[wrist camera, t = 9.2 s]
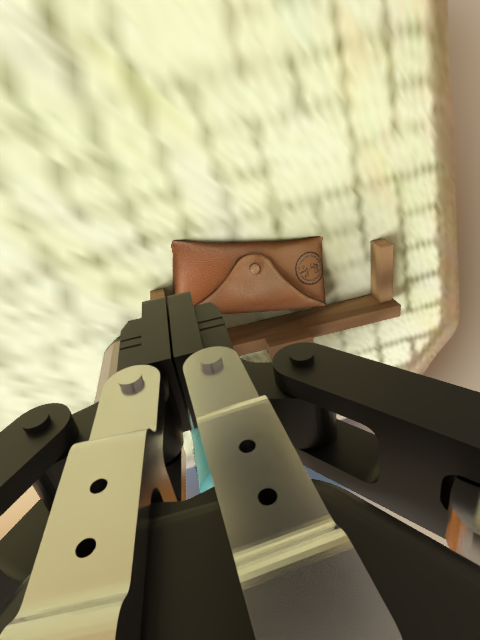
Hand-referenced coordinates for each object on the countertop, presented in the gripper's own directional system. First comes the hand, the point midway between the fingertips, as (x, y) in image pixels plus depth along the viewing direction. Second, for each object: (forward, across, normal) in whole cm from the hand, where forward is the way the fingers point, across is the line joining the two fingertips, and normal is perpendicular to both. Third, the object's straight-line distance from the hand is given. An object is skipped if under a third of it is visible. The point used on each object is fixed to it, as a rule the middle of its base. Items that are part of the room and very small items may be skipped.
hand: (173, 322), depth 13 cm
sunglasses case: (+33, -7, +13) cm, 36 cm away
